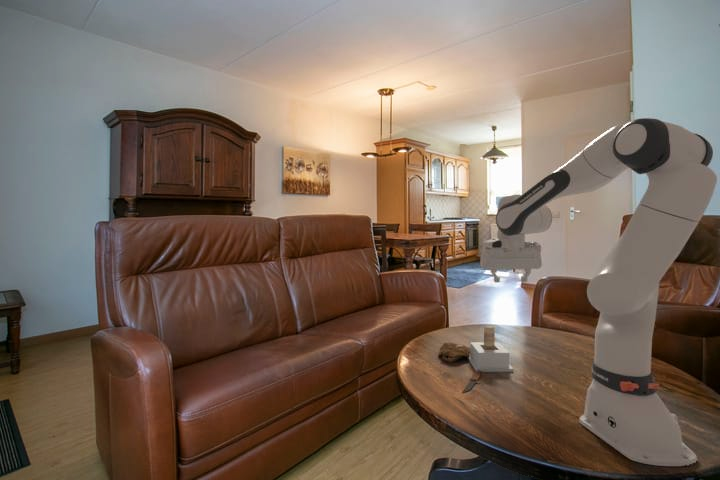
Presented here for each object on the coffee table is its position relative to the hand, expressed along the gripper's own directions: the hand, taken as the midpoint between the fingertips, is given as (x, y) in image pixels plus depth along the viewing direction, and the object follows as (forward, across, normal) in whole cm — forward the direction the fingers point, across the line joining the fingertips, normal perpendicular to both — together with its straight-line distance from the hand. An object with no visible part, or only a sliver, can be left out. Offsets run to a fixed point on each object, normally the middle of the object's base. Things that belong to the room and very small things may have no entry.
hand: (510, 282), depth 127 cm
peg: (+27, +8, +3) cm, 28 cm away
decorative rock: (+28, +18, -5) cm, 34 cm away
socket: (+28, +8, +3) cm, 29 cm away
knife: (+28, +18, +17) cm, 37 cm away
